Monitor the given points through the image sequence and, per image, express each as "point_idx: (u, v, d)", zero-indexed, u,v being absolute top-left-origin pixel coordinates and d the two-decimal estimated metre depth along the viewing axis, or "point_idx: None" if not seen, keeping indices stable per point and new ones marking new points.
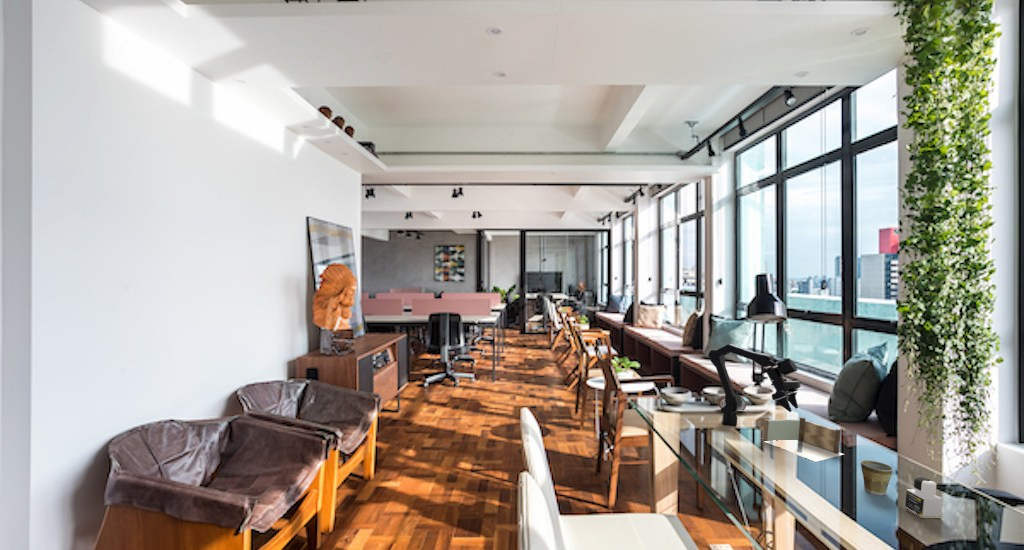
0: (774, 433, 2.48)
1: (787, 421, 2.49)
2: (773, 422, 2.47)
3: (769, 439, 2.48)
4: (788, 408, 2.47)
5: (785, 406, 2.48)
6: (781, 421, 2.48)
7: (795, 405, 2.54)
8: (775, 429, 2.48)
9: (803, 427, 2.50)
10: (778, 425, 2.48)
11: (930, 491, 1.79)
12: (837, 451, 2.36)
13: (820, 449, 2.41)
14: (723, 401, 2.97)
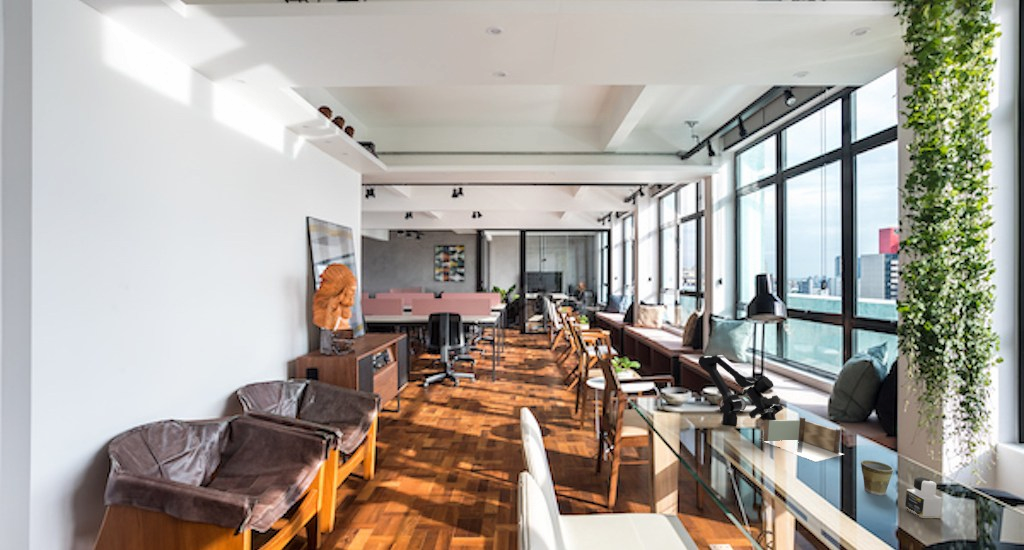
0: (774, 433, 2.48)
1: (787, 421, 2.49)
2: (773, 422, 2.47)
3: (769, 439, 2.47)
4: None
5: None
6: (781, 421, 2.48)
7: None
8: (775, 429, 2.48)
9: (803, 427, 2.50)
10: (778, 426, 2.48)
11: (930, 491, 1.79)
12: (837, 451, 2.36)
13: (820, 449, 2.41)
14: None
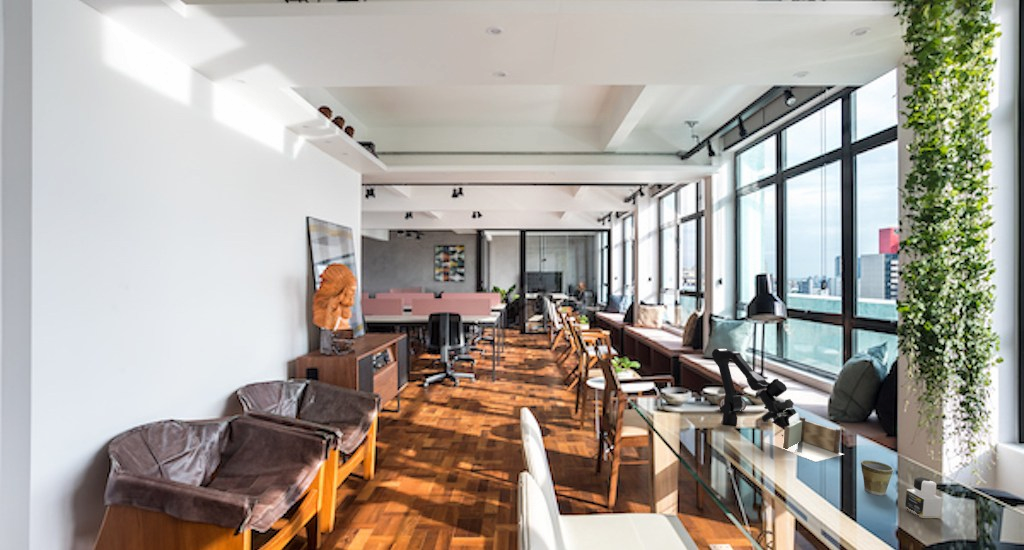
0: (791, 439, 2.41)
1: (797, 424, 2.45)
2: (791, 428, 2.40)
3: (788, 446, 2.39)
4: None
5: (783, 427, 2.45)
6: (794, 425, 2.43)
7: None
8: (791, 434, 2.41)
9: (803, 427, 2.50)
10: (793, 430, 2.42)
11: (930, 491, 1.79)
12: (837, 451, 2.36)
13: (820, 449, 2.41)
14: (723, 401, 2.97)
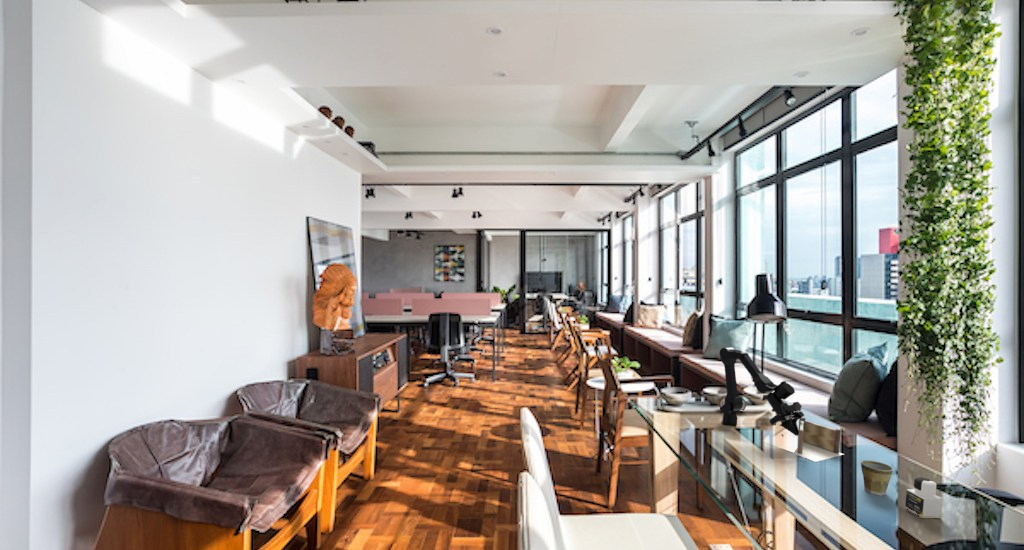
0: None
1: None
2: None
3: None
4: (794, 432, 2.41)
5: (791, 430, 2.42)
6: None
7: None
8: None
9: (803, 427, 2.50)
10: None
11: (930, 491, 1.79)
12: (837, 451, 2.36)
13: (820, 449, 2.41)
14: (723, 401, 2.97)
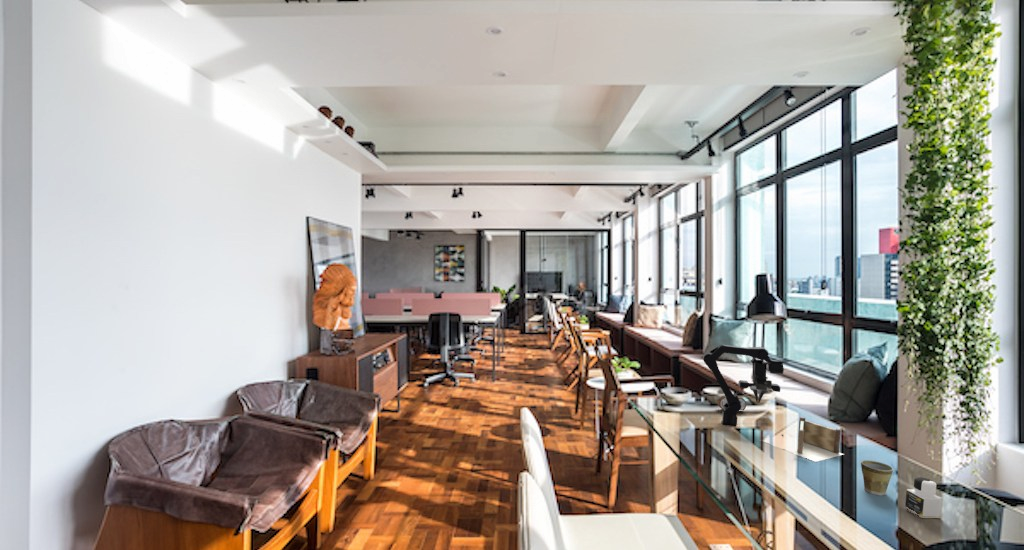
0: None
1: None
2: None
3: None
4: None
5: None
6: None
7: (758, 399, 2.68)
8: None
9: (803, 427, 2.50)
10: None
11: (930, 491, 1.79)
12: (837, 451, 2.36)
13: (820, 449, 2.41)
14: (723, 401, 2.97)
